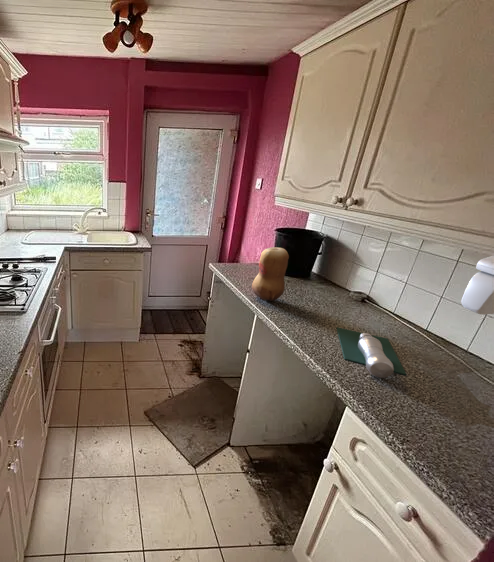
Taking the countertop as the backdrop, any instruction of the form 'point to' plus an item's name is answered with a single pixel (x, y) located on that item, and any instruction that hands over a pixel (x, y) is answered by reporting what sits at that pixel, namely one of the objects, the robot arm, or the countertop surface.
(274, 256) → the butternut squash
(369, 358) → the plastic bottle
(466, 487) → the countertop surface
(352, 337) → the rubber mat
